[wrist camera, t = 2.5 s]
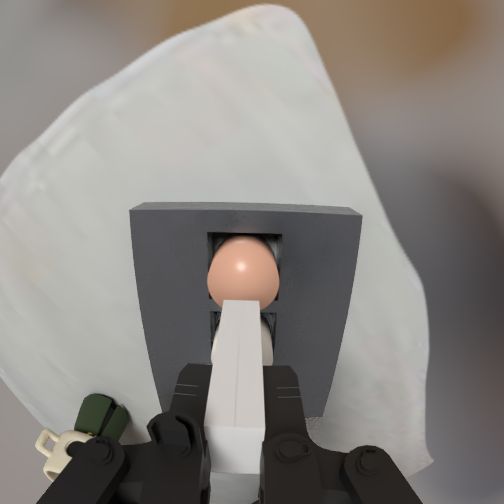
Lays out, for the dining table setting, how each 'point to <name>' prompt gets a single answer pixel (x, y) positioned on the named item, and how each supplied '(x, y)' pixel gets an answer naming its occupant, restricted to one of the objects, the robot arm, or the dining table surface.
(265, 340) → the cream button
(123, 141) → the dining table surface
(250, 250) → the terracotta button
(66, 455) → the character mug
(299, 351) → the panel
